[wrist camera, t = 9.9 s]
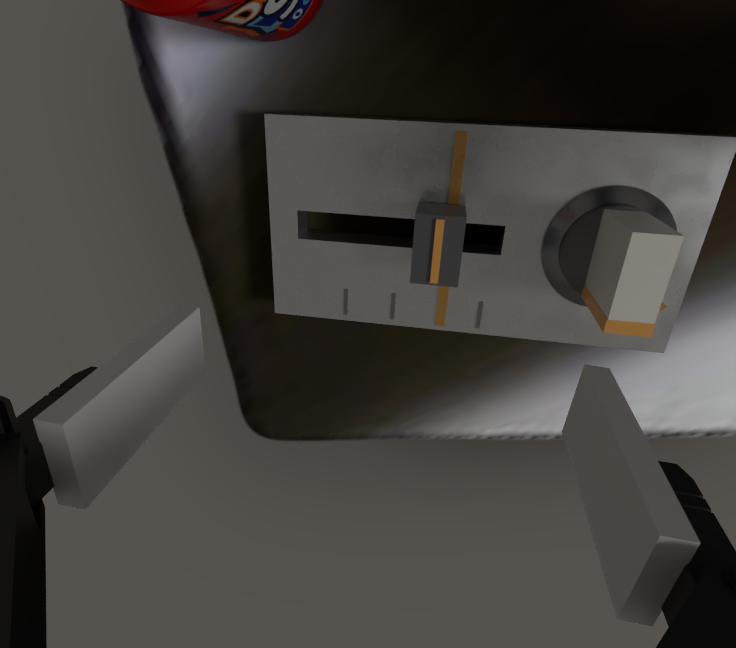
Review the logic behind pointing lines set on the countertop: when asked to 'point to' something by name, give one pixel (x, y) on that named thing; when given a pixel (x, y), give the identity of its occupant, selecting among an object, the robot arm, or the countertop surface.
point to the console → (476, 217)
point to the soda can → (237, 15)
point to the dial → (620, 266)
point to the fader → (438, 244)
